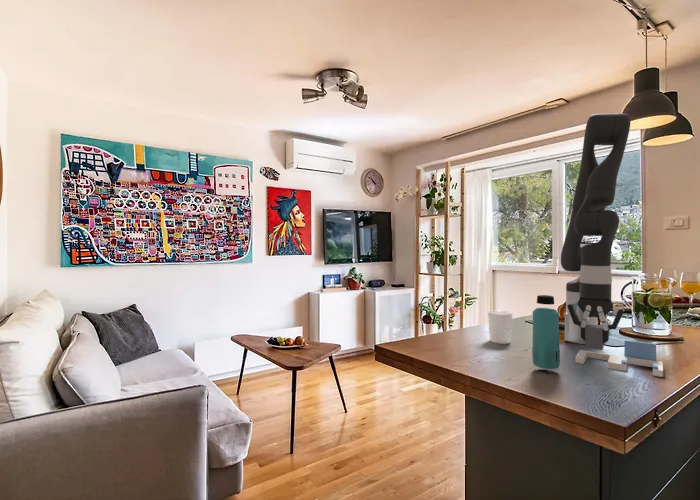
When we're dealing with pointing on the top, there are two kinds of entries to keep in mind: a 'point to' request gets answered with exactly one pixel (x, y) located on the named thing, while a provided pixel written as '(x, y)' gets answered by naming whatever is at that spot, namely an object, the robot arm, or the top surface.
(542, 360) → the beverage bottle
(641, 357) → the white prong rack
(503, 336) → the white cup
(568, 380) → the top surface
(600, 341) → the plug
